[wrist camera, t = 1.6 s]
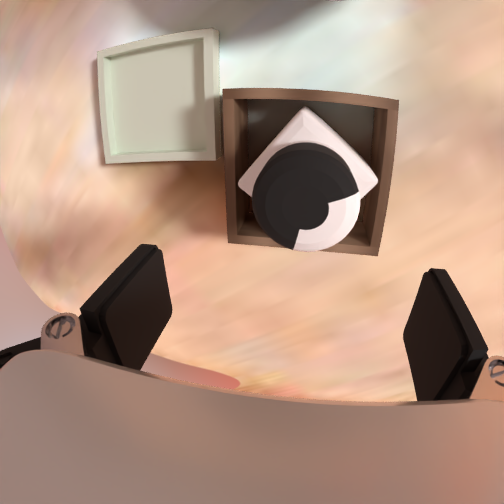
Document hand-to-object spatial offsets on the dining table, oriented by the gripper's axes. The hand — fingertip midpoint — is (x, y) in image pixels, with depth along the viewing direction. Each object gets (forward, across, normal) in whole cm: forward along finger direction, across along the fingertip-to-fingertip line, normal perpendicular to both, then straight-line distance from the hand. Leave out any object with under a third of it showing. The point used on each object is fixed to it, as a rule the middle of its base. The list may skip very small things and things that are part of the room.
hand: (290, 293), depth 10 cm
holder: (+19, 0, -1) cm, 19 cm away
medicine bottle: (+19, 0, -1) cm, 19 cm away
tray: (+19, +14, -7) cm, 24 cm away
